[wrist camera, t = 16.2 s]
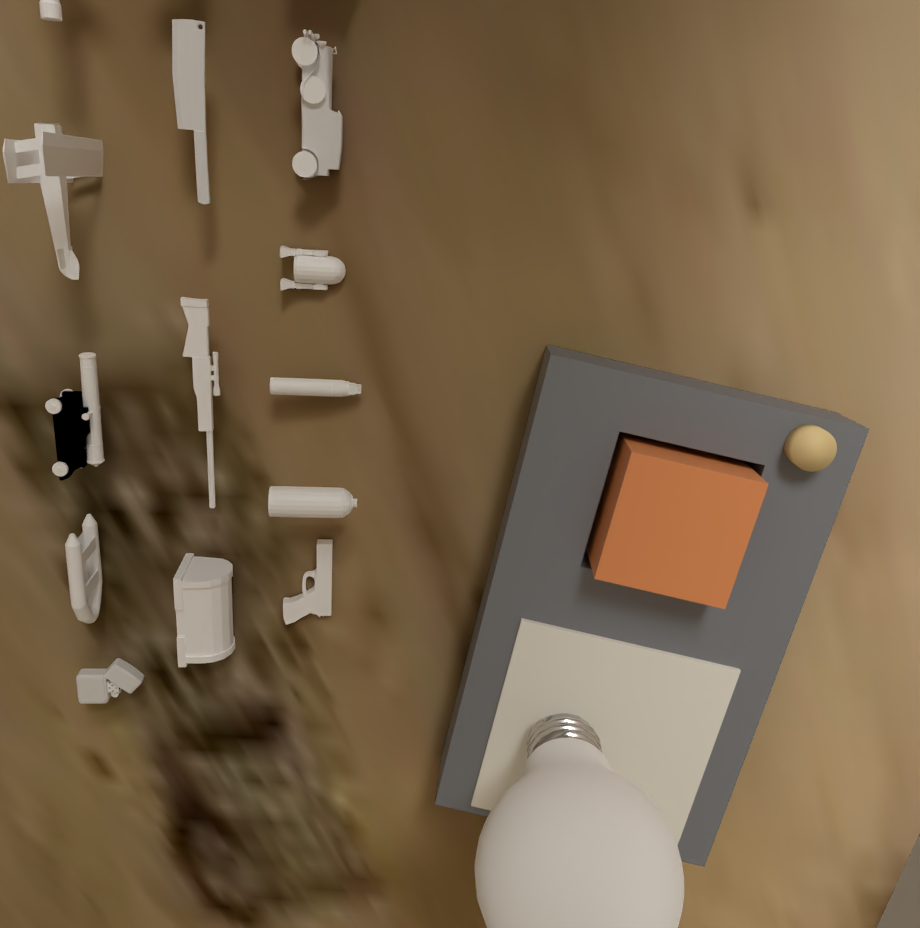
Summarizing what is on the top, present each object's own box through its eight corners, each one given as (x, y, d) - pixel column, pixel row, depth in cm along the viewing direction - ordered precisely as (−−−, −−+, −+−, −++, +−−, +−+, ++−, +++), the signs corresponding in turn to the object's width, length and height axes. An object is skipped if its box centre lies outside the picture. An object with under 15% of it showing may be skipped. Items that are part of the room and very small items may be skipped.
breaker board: (546, 344, 32) (552, 357, 29) (836, 412, 32) (878, 434, 29) (440, 761, 38) (433, 817, 34) (689, 818, 38) (708, 880, 34)
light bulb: (458, 688, 33) (434, 900, 22) (613, 639, 32) (664, 836, 21) (515, 818, 34) (517, 1073, 24) (664, 775, 33) (736, 1021, 23)
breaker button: (616, 427, 32) (631, 451, 28) (737, 455, 32) (768, 484, 28) (584, 540, 34) (594, 578, 30) (700, 567, 34) (725, 609, 30)
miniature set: (18, -219, 28) (375, -177, 29) (102, 662, 39) (355, 662, 40) (-82, -331, 22) (375, -271, 23) (52, 750, 33) (352, 746, 34)
